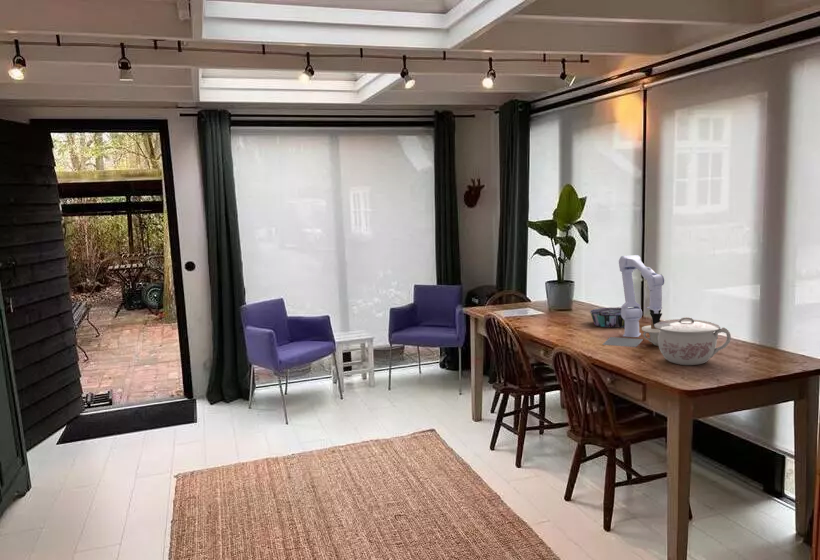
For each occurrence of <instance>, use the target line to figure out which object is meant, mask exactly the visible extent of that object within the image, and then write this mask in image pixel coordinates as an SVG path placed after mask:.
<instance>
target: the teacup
mask: <svg viewBox="0 0 820 560" xmlns="http://www.w3.org/2000/svg"><path fill="white" fill-rule="evenodd" d="M646 334H648V335H649V337H647V336H646ZM657 335H658V333H650V332H645V331H643V335H642V336H643V338H644V339H646V340H647V341H648V342H649V343H651V344H653V346H657V347H659V345H658V341H657Z"/></svg>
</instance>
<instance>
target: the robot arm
mask: <svg viewBox="0 0 820 560" xmlns="http://www.w3.org/2000/svg"><path fill="white" fill-rule="evenodd" d="M618 267H619V272H621V277H622V284H623V285H622V286H623V292H624V301H625V302H624V303H623V304H622V305H621V306H620V308H621V316H622V318H623V320H625V327H624V333H623V335H622V337H624V338H630V337H631V338H639V337H641V334H642V333H641V332H640V322H639V321H640V320H641V318H642V316H643V311H642V309H641V308H642V307H641V304H640V303H638V302H637V301H636V296H635V289H634V288H635V287H634V280H633V272H634V271H636V270H638V271H639V272H640V274H641V276H642V277H643V279H644V280H646V284H647V287H648V290H649V306H647V307H646V309H648V310H649V312H650V313H649V314H650V316H651V320H653V325H654V324H656V323H658V322H659V321H660V320H661V318H662V316H663V312H662V310H663V306H662V305H663V298H662V297H663V296H662V295H663V292H662V291H663V290H662V289H663V286H664V284H665V277H664V276H663V274H662V273H661V274H660V273H659V274H658V273H656V272H655V270H653V269H652V268H651V266H646V265H645V264H644V263H643V261H642V258H641V256H640V255H638V254H634V255H632V254H631V255H621V256H620V257H619V260H618Z"/></svg>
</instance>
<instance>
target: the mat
mask: <svg viewBox="0 0 820 560" xmlns="http://www.w3.org/2000/svg"><path fill="white" fill-rule="evenodd" d="M643 340H644V339H643V338H633V337H631V338H630V337H616V336H615V337H614V336H610V337H609V338H608V339H606V340H605V341H604V342H603V343H602V345H603V346H616V347H629V348H637V347H638V346H639V345H640V344H641V343H642V342H643Z"/></svg>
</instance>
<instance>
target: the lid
mask: <svg viewBox="0 0 820 560" xmlns="http://www.w3.org/2000/svg"><path fill="white" fill-rule="evenodd" d="M661 321H665V320H664V319H660V321H659V322H661ZM641 331H643V332H650V333H659V332H660V330H659V329H657V328H655V327H654V325H653V320H652V319H651V320H650V325H644V326H642V327H641Z"/></svg>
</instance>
